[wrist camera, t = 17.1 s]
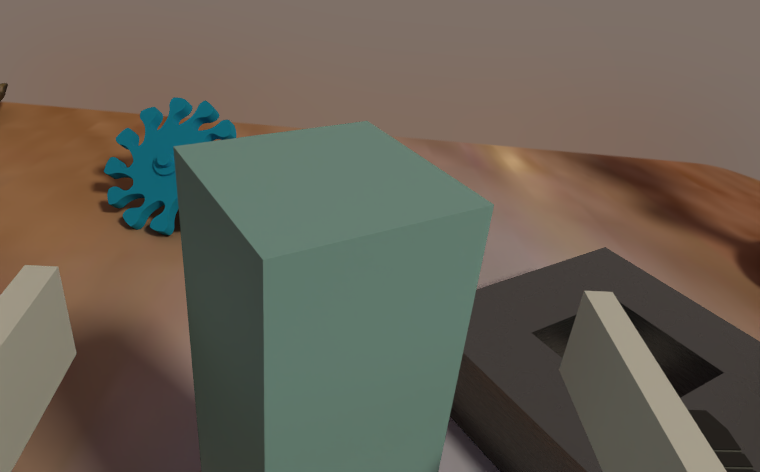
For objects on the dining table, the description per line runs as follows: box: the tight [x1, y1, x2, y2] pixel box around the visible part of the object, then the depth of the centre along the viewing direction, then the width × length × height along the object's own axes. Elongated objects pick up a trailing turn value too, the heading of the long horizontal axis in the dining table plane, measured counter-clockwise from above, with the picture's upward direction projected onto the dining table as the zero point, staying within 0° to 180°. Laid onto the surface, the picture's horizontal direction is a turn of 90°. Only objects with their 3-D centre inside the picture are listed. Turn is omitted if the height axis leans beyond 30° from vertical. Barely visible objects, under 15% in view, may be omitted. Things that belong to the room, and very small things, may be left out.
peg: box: [173, 121, 494, 472], centre depth 17 cm, size 5×5×16 cm
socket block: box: [450, 247, 760, 472], centre depth 30 cm, size 14×14×4 cm
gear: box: [104, 98, 236, 235], centre depth 44 cm, size 11×6×10 cm
